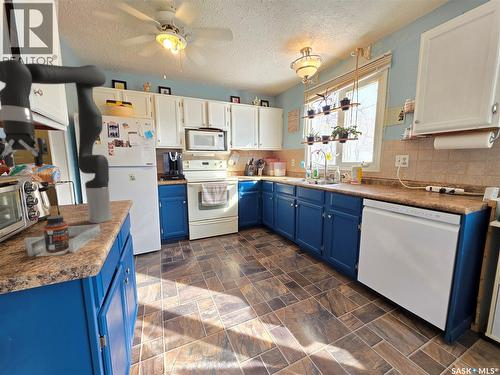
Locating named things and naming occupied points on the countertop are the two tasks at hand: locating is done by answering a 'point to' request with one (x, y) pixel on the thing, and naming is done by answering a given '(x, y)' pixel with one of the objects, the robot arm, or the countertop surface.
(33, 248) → the grey angled wall frame
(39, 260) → the countertop surface
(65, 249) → the pad
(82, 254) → the countertop surface
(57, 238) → the supplement bottle
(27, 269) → the countertop surface
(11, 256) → the countertop surface
